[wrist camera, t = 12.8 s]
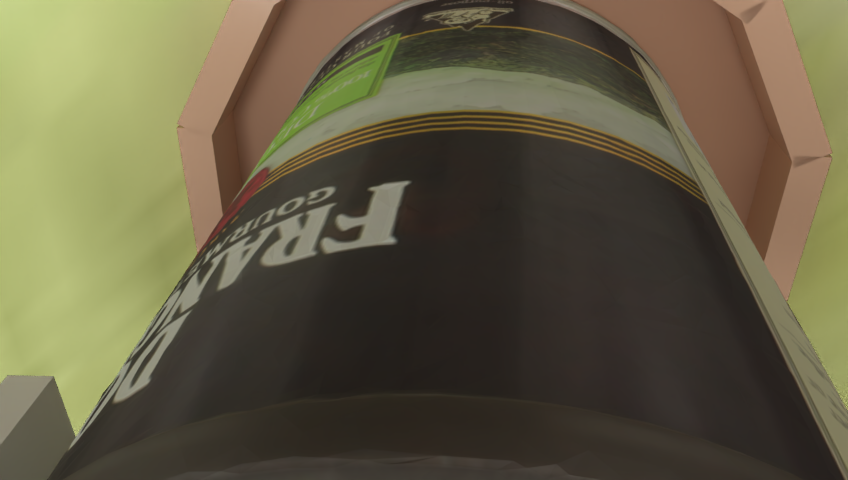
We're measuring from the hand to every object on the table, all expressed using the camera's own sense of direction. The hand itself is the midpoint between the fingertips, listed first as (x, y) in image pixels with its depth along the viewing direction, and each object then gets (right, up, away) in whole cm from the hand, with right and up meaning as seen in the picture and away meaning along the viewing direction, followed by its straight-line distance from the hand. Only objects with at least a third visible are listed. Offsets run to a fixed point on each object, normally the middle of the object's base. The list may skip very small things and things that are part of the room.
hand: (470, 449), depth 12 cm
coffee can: (+1, +5, +8) cm, 9 cm away
